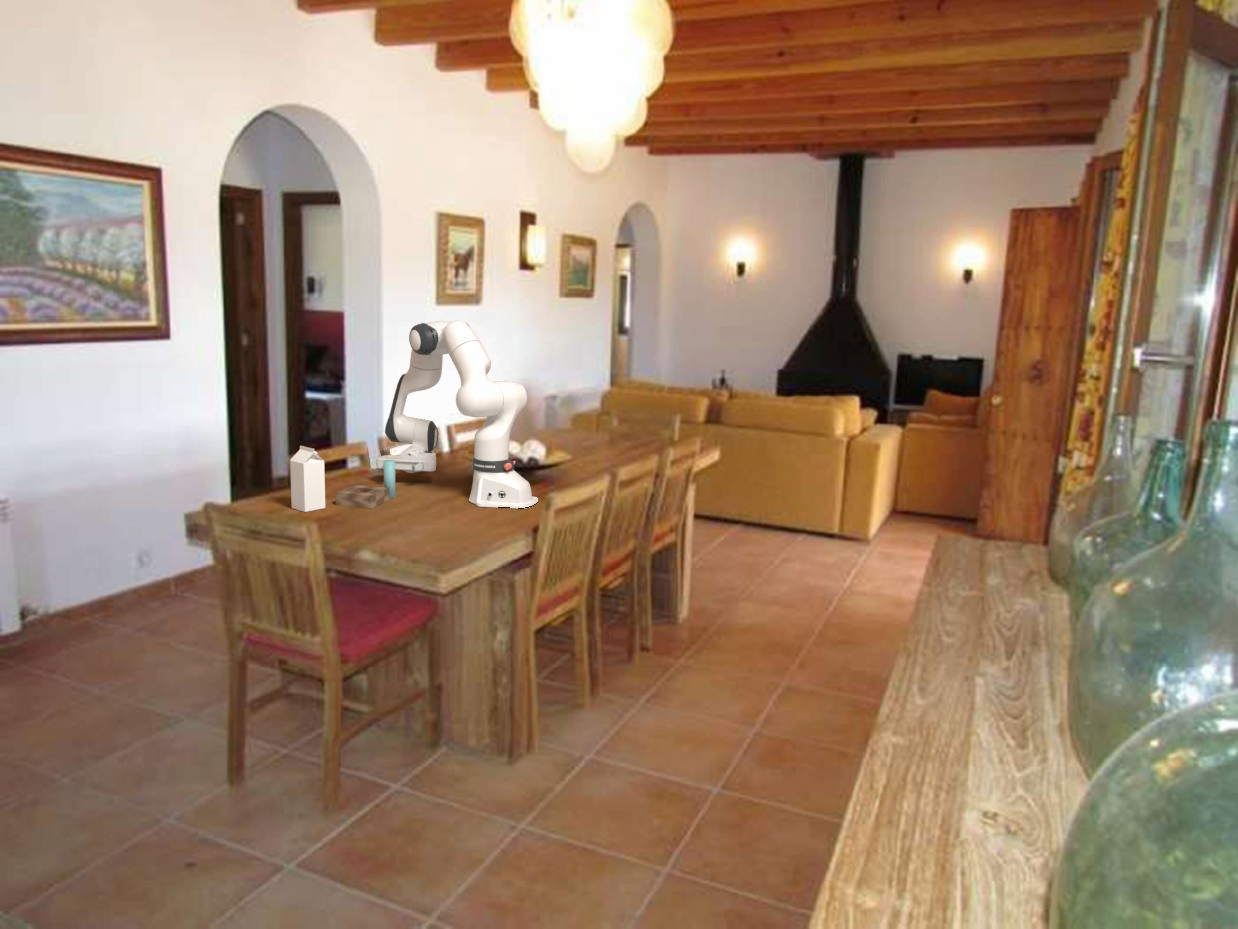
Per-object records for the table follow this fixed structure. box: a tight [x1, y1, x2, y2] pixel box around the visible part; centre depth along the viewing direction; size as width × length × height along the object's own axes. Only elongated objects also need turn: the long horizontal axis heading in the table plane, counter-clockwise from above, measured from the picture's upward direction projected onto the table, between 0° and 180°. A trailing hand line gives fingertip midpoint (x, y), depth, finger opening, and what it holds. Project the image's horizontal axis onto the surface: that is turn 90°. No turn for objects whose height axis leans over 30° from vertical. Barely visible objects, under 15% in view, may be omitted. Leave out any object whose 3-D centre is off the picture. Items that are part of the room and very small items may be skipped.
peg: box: [383, 460, 396, 499], centre depth 284 cm, size 4×4×12 cm
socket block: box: [335, 484, 390, 509], centre depth 276 cm, size 12×12×4 cm
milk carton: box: [289, 445, 326, 513], centre depth 264 cm, size 7×7×19 cm
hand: (400, 467), depth 296 cm, fingers open, 8 cm apart
